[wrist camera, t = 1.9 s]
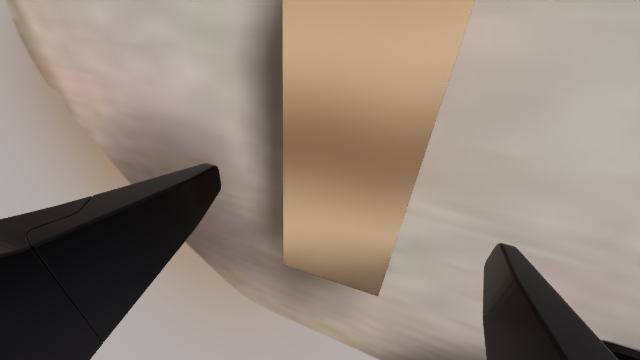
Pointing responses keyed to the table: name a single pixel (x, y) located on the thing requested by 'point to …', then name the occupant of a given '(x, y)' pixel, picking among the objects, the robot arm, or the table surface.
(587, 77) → the table surface
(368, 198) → the bed rail
